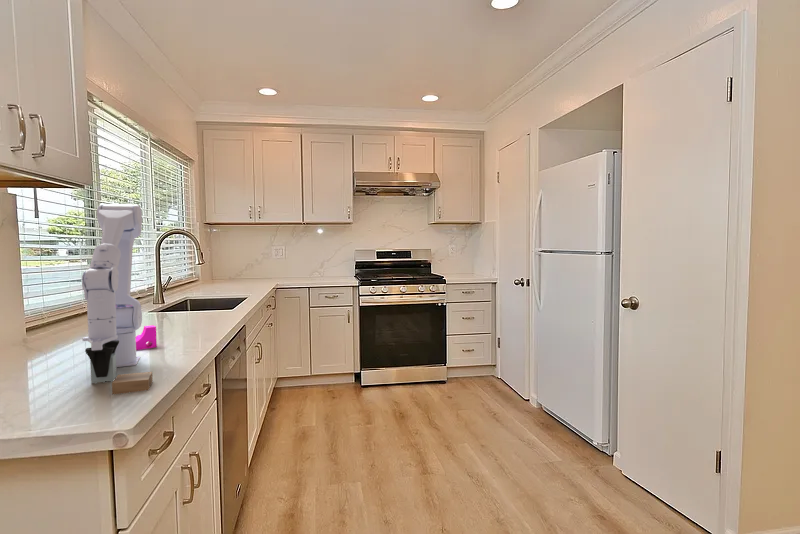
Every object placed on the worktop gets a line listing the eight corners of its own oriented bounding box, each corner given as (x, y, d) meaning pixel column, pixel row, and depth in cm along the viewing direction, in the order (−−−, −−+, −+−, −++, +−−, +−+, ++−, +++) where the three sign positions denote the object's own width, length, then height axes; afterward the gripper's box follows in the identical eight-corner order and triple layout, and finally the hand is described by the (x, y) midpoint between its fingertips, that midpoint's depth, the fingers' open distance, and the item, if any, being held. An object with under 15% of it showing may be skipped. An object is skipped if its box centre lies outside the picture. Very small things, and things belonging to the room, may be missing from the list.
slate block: (95, 379, 112) (94, 355, 111) (116, 377, 113) (115, 353, 113) (91, 384, 107) (90, 359, 107) (113, 382, 109) (112, 357, 109)
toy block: (152, 347, 148) (151, 324, 148) (156, 350, 144) (156, 326, 143) (97, 354, 139) (96, 329, 139) (100, 358, 134) (99, 332, 134)
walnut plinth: (118, 387, 106) (118, 374, 106) (152, 383, 109) (152, 371, 109) (112, 396, 100) (111, 383, 99) (148, 392, 102) (148, 379, 102)
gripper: (89, 315, 115) (90, 368, 115) (74, 323, 101) (76, 384, 102) (121, 313, 118) (123, 365, 118) (111, 321, 104) (113, 380, 105)
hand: (104, 374), depth 110 cm, fingers closed on slate block, 4 cm apart
